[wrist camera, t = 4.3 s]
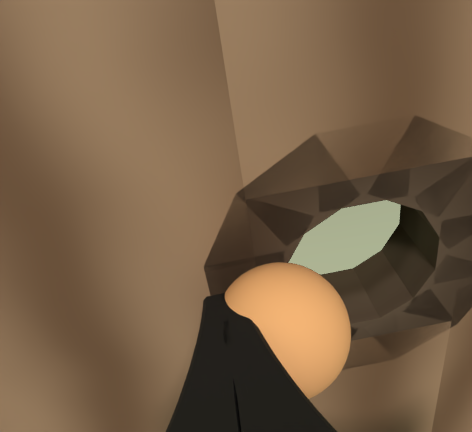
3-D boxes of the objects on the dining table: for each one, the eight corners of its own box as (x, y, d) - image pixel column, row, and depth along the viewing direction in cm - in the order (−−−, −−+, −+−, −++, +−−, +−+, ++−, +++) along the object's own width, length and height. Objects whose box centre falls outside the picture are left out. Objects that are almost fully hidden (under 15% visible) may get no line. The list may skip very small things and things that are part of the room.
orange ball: (256, 457, 11) (378, 395, 11) (234, 363, 9) (383, 297, 9) (208, 353, 13) (309, 309, 14) (183, 265, 11) (302, 220, 12)
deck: (27, 473, 21) (11, 533, 19) (-430, -96, 9) (-622, -104, 6) (442, 389, 21) (471, 439, 19) (563, -262, 9) (681, -320, 7)
